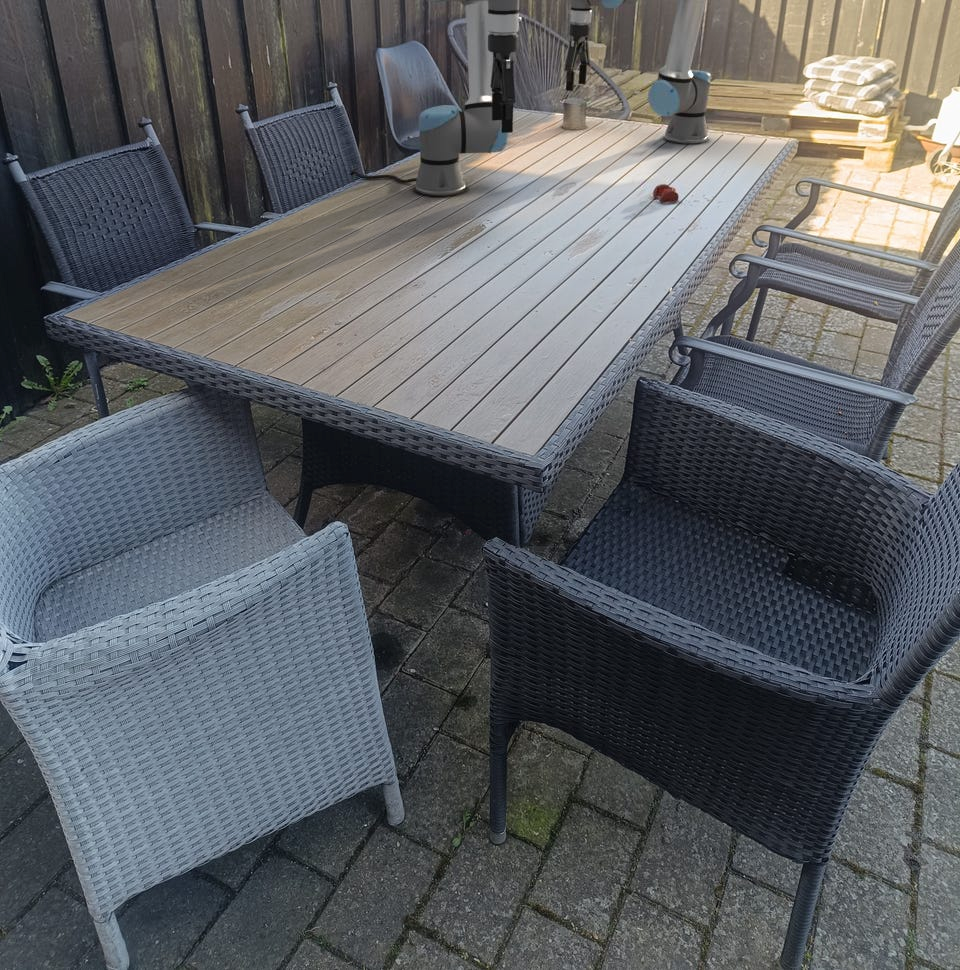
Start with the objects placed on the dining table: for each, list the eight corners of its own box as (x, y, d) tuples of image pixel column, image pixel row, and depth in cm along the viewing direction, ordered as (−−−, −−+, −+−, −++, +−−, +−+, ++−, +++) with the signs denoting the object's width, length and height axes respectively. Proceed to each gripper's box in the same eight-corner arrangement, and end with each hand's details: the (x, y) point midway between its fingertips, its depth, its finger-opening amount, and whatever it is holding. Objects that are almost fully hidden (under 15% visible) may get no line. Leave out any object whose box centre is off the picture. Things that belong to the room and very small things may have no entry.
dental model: (669, 180, 251) (681, 188, 245) (668, 194, 254) (679, 202, 248) (652, 182, 250) (663, 190, 244) (650, 196, 253) (662, 204, 247)
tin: (558, 127, 324) (559, 102, 318) (569, 123, 329) (570, 98, 324) (578, 130, 320) (580, 104, 314) (589, 126, 326) (591, 100, 320)
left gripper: (529, 40, 194) (526, 137, 207) (508, 25, 214) (507, 114, 227) (497, 41, 193) (496, 138, 206) (479, 26, 213) (479, 115, 226)
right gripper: (582, 18, 314) (577, 80, 327) (558, 27, 296) (554, 92, 309) (601, 19, 312) (596, 82, 324) (578, 28, 293) (573, 94, 306)
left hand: (502, 126), depth 216 cm, fingers open, 13 cm apart
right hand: (575, 87), depth 316 cm, fingers open, 13 cm apart
